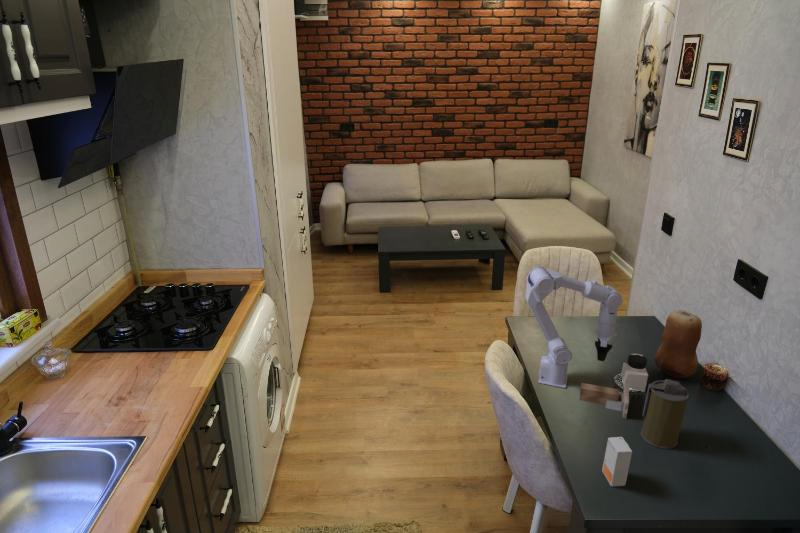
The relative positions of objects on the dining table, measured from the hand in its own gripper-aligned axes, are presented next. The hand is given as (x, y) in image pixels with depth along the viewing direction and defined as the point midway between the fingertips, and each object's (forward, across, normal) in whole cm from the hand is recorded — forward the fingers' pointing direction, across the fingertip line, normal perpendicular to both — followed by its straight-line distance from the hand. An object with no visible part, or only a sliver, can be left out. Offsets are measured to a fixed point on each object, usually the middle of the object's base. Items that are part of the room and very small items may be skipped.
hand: (601, 355), depth 190 cm
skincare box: (+10, -50, -6) cm, 51 cm away
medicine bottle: (+11, +1, -12) cm, 16 cm away
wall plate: (+10, -13, -9) cm, 19 cm away
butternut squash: (+11, +14, -26) cm, 31 cm away
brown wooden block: (+11, -13, -1) cm, 17 cm away
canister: (+11, -26, -19) cm, 34 cm away
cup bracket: (+10, -13, -6) cm, 18 cm away
